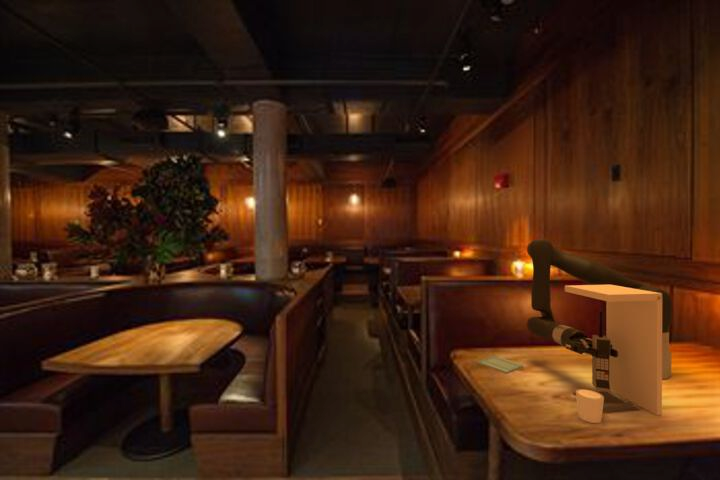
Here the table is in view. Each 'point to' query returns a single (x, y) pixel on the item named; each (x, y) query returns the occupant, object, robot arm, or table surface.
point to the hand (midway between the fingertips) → (608, 354)
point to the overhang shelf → (631, 345)
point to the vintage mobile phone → (601, 361)
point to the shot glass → (589, 405)
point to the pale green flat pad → (500, 364)
